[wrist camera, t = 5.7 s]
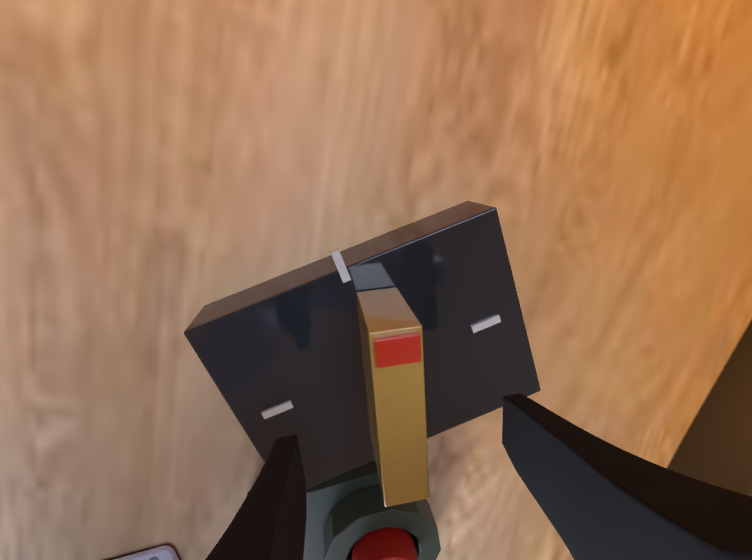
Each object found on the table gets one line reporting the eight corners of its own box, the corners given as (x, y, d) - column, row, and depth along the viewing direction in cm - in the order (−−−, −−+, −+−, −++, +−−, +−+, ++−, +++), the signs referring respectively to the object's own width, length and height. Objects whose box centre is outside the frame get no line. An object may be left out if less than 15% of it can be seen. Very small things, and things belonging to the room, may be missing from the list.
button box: (282, 581, 24) (278, 637, 21) (247, 491, 21) (237, 541, 19) (432, 538, 25) (447, 585, 22) (416, 446, 22) (430, 487, 20)
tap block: (296, 464, 21) (293, 512, 18) (194, 290, 17) (169, 316, 14) (514, 372, 22) (546, 405, 19) (464, 183, 18) (493, 187, 15)
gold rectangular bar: (405, 429, 18) (431, 504, 14) (370, 435, 18) (385, 514, 14) (396, 286, 16) (424, 328, 12) (355, 292, 15) (369, 336, 11)
